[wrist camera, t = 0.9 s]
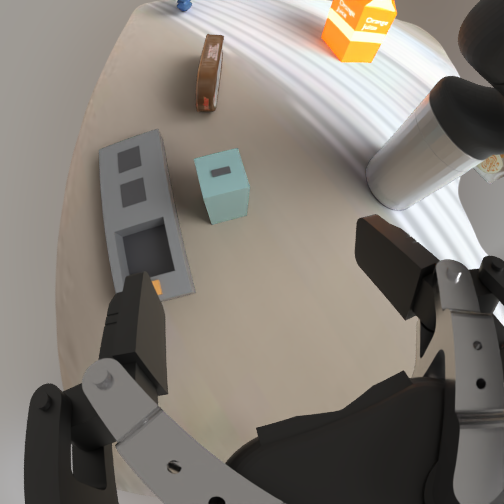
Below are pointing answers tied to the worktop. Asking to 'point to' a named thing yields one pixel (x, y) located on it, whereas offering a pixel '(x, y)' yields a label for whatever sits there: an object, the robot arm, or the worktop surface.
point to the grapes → (184, 4)
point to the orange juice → (358, 28)
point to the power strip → (142, 216)
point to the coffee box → (491, 168)
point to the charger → (223, 185)
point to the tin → (209, 73)
